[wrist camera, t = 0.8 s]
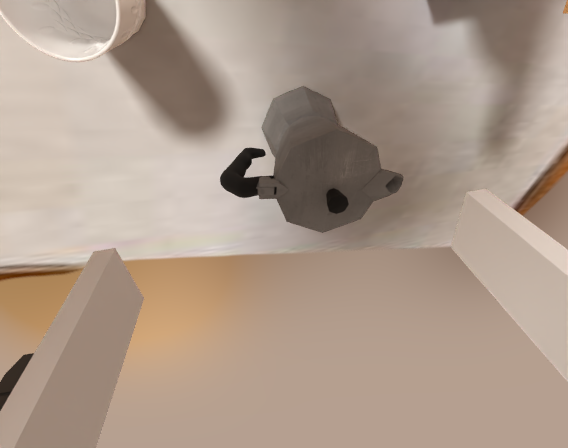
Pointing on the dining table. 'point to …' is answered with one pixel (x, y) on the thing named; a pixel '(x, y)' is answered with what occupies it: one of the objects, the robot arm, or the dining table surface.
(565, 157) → the dining table surface
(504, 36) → the dining table surface
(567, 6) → the bar
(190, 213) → the dining table surface
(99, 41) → the white cup
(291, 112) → the coffeepot
